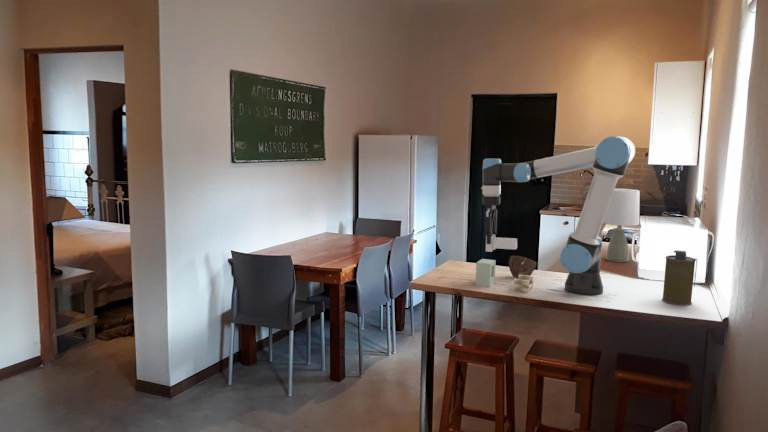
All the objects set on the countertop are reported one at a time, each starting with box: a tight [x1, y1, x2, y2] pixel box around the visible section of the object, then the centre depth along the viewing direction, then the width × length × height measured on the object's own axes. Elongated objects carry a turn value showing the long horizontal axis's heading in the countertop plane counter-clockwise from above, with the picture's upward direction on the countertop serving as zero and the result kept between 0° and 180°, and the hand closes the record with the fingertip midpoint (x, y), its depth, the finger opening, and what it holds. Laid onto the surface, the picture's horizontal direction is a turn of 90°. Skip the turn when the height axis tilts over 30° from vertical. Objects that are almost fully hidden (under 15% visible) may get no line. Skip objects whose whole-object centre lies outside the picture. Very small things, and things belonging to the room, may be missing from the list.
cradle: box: [513, 274, 534, 293], centre depth 247 cm, size 6×11×4 cm, turn 156°
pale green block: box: [475, 258, 497, 288], centre depth 254 cm, size 6×9×10 cm, turn 156°
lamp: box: [602, 188, 641, 263], centre depth 309 cm, size 19×19×37 cm
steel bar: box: [493, 236, 518, 250], centre depth 249 cm, size 12×4×4 cm, turn 66°
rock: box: [507, 255, 538, 279], centre depth 265 cm, size 12×10×10 cm
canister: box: [661, 250, 698, 306], centre depth 231 cm, size 11×10×20 cm
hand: (490, 250), depth 251 cm, fingers closed on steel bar, 4 cm apart
